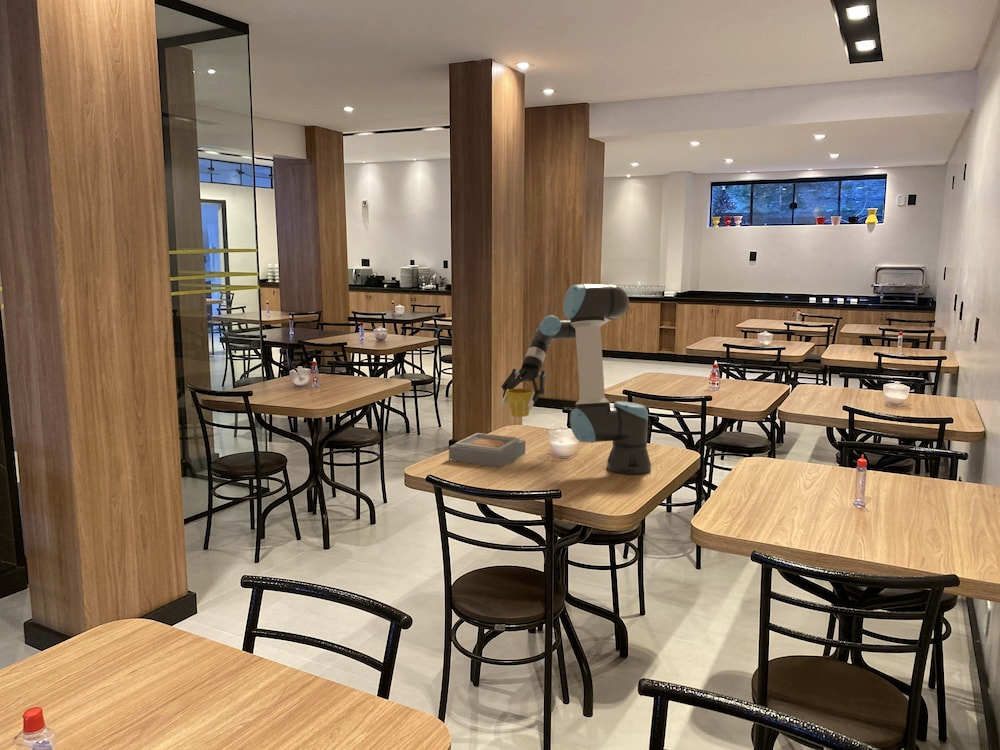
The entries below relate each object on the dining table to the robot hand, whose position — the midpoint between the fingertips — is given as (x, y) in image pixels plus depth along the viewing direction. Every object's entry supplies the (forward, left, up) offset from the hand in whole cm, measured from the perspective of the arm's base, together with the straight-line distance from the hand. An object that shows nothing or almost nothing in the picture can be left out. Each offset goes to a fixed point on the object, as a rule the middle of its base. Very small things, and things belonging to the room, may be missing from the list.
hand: (516, 406), depth 279 cm
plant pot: (+1, -3, -4) cm, 5 cm away
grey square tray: (-2, +17, -16) cm, 24 cm away
